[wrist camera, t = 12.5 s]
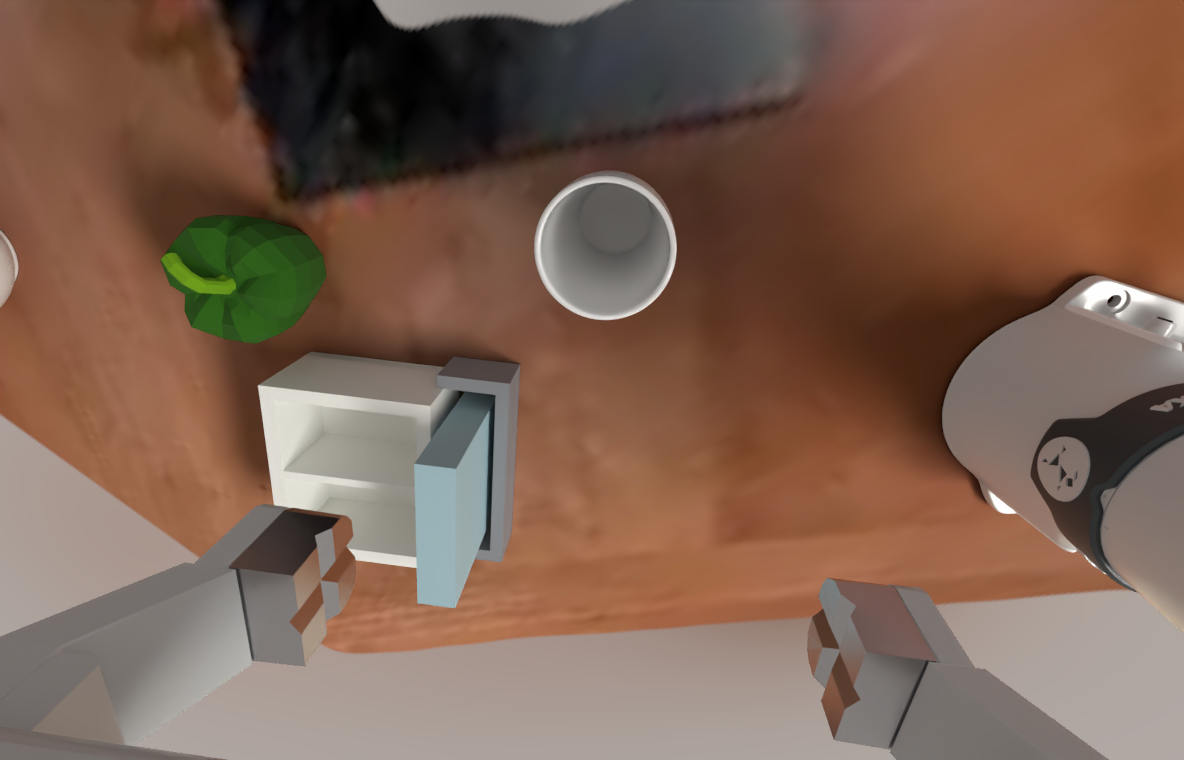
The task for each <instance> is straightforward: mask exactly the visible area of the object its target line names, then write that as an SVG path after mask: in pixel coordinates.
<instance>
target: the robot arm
mask: <svg viewBox="0 0 1184 760" xmlns="http://www.w3.org/2000/svg"><path fill="white" fill-rule="evenodd" d="M1111 296H1113V300H1112V301H1111V302H1110V303H1108V304H1107V301H1108V299H1109V298H1110V297H1111ZM942 425H943V432H944V436H945V439H946V442H947V444H948V446H949V448H950V450H951V452H952V453H953V455H954V456H955V457H956V459H957V460H958V461H959V462H960V463H961V464H962V465H963V466H964V467H965V468H967V469H968V470H969V471H970V472H971V473H972V474H973V475H974V476H975V477H976V478H977V479H978V481H979V483H980V487H981V490H982V493H983V495H984V498H985V499H986V501H987V503H988V504H989V505H990V506H992V507H993V508H994V509H995V510H997V511H998V512H1000V513H1004V514H1019V515H1020V516H1021V517H1022V518H1023V519H1025V520H1026V521H1027V522H1028V523H1030V524H1031V525H1032V526H1034V527H1035V528H1036V529H1037V530H1039V531H1040V532H1041V533H1042V534H1044V535H1045V536H1046V537H1047V538H1049V539H1050V540H1051V541H1053V542H1054V543H1055V544H1056V545H1058V546H1059V547H1061V548H1062V549H1064V550H1066V551H1069V552H1076V551H1078V552H1079V553H1080V554H1081V555H1082V556H1083V557H1084V558H1085V559H1086V560H1087V561H1088V562H1090V563H1091V564H1092V565H1093V566H1094V567H1095V568H1098V569H1099V570H1100V571H1101V572H1103V573H1104V574H1106V575H1108V576H1109V577H1110V578H1111V579H1113V580H1114V581H1115V582H1117V583H1118V584H1120V585H1122V586H1123V587H1125V588H1127V589H1129V590H1132V591H1134V592H1137V593H1139V594H1140V595H1141V596H1142V597H1144V598H1145V599H1146V600H1147V601H1148V602H1149V603H1150V604H1151V605H1152V606H1154V607H1155V608H1156V609H1157V610H1158V611H1159V612H1160V613H1161V614H1163V615H1164V616H1165V617H1166V618H1167V619H1168V620H1169V621H1170V622H1171V623H1172V624H1174V625H1175V626H1176V627H1177V628H1178V629H1179V630H1180V631H1181V632H1183V633H1184V302H1181V301H1178V300H1175V299H1171V298H1168V297H1165V296H1162V295H1159V294H1156V293H1153V292H1150V291H1147V290H1144V289H1141V288H1138V287H1135V286H1131V285H1128V284H1125V283H1122V282H1119V281H1116V280H1113V279H1110V278H1107V277H1104V276H1096V275H1095V276H1090V277H1087V278H1085V279H1083V280H1081V281H1079V282H1078V283H1076V284H1075V285H1074V286H1072V287H1071V288H1070V289H1068V290H1067V291H1066V292H1065V293H1064V294H1062V295H1061V296H1060V297H1059V298H1058V299H1057V300H1056V301H1054V302H1053V303H1052V304H1051V305H1049V306H1047V307H1045V308H1044V309H1041V310H1039V311H1037V312H1035V313H1032V314H1030V315H1027V316H1025V317H1023V318H1020V319H1018V320H1016V321H1014V322H1012V323H1010V324H1008V325H1006V326H1004V327H1003V328H1001V329H1000V330H998V331H996V332H995V333H993V334H992V335H991V336H989V337H988V338H987V339H985V340H984V341H983V342H982V343H981V344H980V345H979V346H977V347H976V348H975V349H974V350H973V351H972V352H971V353H970V355H969V356H968V357H967V358H966V359H965V360H964V362H963V363H962V364H961V366H960V367H959V369H958V370H957V372H956V373H955V375H954V377H953V379H952V381H951V383H950V385H949V387H948V390H947V393H946V396H945V400H944V404H943V411H942ZM352 537H353V528H352V520H351V519H350V518H348V517H347V516H345V515H338V514H332V513H325V512H319V511H312V510H305V509H299V508H289V507H283V506H276V505H269V504H262V505H259V506H256V507H254V508H253V509H252V510H251V511H250V512H249V513H248V514H247V515H246V516H245V517H244V518H243V519H241V520H240V521H239V522H238V523H237V524H236V525H235V526H234V527H233V528H232V529H231V530H230V531H229V532H227V533H226V534H225V535H224V536H223V537H222V538H221V539H220V540H219V541H218V542H217V543H216V544H215V545H213V546H212V547H211V548H210V549H209V550H208V551H207V552H206V553H205V554H204V555H203V556H202V557H201V558H199V559H198V560H197V561H196V562H195V563H194V564H191V563H183V564H180V565H178V566H175V567H173V568H170V569H168V570H165V571H163V572H160V573H158V574H155V575H153V576H150V577H148V578H145V579H143V580H140V581H138V582H135V583H133V584H130V585H128V586H125V587H123V588H120V589H118V590H115V591H113V592H110V593H108V594H105V595H103V596H100V597H98V598H96V599H93V600H90V601H88V602H85V603H83V604H80V605H78V606H76V607H73V608H71V609H68V610H66V611H63V612H61V613H58V614H55V615H53V616H51V617H48V618H46V619H43V620H41V621H38V622H36V623H33V624H31V625H28V626H26V627H23V628H21V629H18V630H16V631H13V632H11V633H8V634H6V635H3V636H1V637H0V760H225V759H218V758H211V757H205V756H198V755H191V754H184V753H177V752H170V751H164V750H157V749H150V748H142V747H136V746H134V745H135V744H137V743H138V742H139V741H141V740H142V739H144V738H145V737H147V736H148V735H150V734H151V733H153V732H154V731H155V730H157V729H158V728H160V727H161V726H163V725H164V724H166V723H167V722H168V721H170V720H171V719H173V718H174V717H176V716H177V715H179V714H180V713H181V712H183V711H184V710H186V709H187V708H189V707H190V706H192V705H193V704H194V703H196V702H198V701H199V700H200V699H202V698H203V697H205V696H206V695H208V694H209V693H210V692H212V691H213V690H215V689H216V688H218V687H219V686H221V685H222V684H224V683H225V682H226V681H228V680H229V679H231V678H232V677H234V676H235V675H237V674H238V673H239V672H241V671H242V670H244V669H245V668H247V667H248V666H250V665H251V664H252V661H260V662H270V663H279V664H288V665H298V666H306V664H307V663H308V662H309V660H310V659H311V657H312V655H313V654H314V652H315V651H316V649H317V648H318V646H319V645H320V643H321V642H322V640H323V639H324V637H325V636H326V634H327V630H326V621H327V620H328V619H330V618H332V617H334V616H335V615H337V614H339V613H340V612H341V611H342V609H343V607H344V606H345V604H346V602H347V601H348V599H349V596H350V593H351V591H352V588H353V585H354V581H355V573H356V561H355V556H354V555H353V554H352V552H351V551H350V550H349V549H348V548H347V544H348V543H349V542H350V540H351V539H352ZM819 599H820V602H821V604H822V607H823V609H822V610H821V611H820V612H818V613H817V614H816V615H814V616H813V617H812V619H811V623H810V627H809V631H808V644H807V651H808V658H809V664H810V667H811V670H812V674H813V677H814V678H815V679H816V680H817V681H818V682H819V683H820V684H821V685H822V686H823V687H824V688H825V691H824V694H823V697H822V700H821V702H822V705H823V708H824V711H825V714H826V717H827V720H828V723H829V726H830V730H831V732H832V736H833V739H834V740H837V741H842V742H848V743H855V744H860V745H866V746H872V747H878V748H884V749H890V750H891V752H890V753H891V754H892V755H893V756H894V758H895V759H896V760H1108V759H1107V758H1105V757H1104V756H1103V755H1101V754H1100V753H1099V752H1097V751H1096V750H1095V749H1093V748H1092V747H1091V746H1089V745H1088V744H1087V743H1085V742H1084V741H1082V740H1081V739H1080V738H1078V737H1077V736H1075V735H1074V734H1073V733H1072V732H1070V731H1069V730H1068V729H1066V728H1065V727H1063V726H1062V725H1061V724H1059V723H1058V722H1056V721H1055V720H1054V719H1052V718H1051V717H1050V716H1048V715H1047V714H1046V713H1044V712H1043V711H1042V710H1040V709H1039V708H1037V707H1036V706H1035V705H1033V704H1032V703H1031V702H1029V701H1028V700H1026V699H1025V698H1024V697H1022V696H1021V695H1020V694H1018V693H1017V692H1016V691H1014V690H1013V689H1012V688H1010V687H1009V686H1007V685H1006V684H1005V683H1003V682H1002V681H1000V680H999V679H998V678H997V677H995V676H994V675H992V674H991V673H990V672H988V671H987V670H985V669H979V668H975V667H974V665H973V664H972V662H971V661H970V659H969V658H968V656H967V654H966V653H965V651H964V650H963V648H962V646H961V645H960V643H959V642H958V640H957V639H956V637H955V636H954V634H953V632H952V631H951V629H950V628H949V626H948V625H947V623H946V621H945V620H944V619H943V617H942V615H941V614H940V612H939V611H938V609H937V607H936V606H935V604H934V603H933V601H932V600H931V598H930V597H929V595H928V593H927V592H925V591H924V590H923V589H921V588H918V587H909V586H899V585H882V584H874V583H865V582H857V581H849V580H841V579H833V578H827V579H826V580H825V582H824V583H823V584H822V587H821V590H820V593H819Z"/></svg>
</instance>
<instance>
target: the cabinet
mask: <svg viewBox="0 0 1184 760" xmlns="http://www.w3.org/2000/svg"><path fill="white" fill-rule="evenodd" d="M519 381H520V364H514V363H505V362H497V361H488V360H480V359H471V358H463V357H454V356H453V358H452V359H451V360H450V361H449V362H448V363H447V364H446V366H445V367H439V366H430V365H422V364H413V363H405V362H396V361H388V360H380V359H371V358H363V357H354V356H346V355H337V354H329V353H320V352H312V351H311V352H310V353H308V354H306V355H305V356H303V357H302V358H300V359H299V360H297V361H295V362H294V363H292V364H291V365H289V366H288V367H286V368H284V369H283V370H281V371H280V372H278V373H276V374H275V375H273V376H272V377H270V378H269V379H267V380H265V381H264V382H262V383H261V384H259V385H258V389H259V397H260V404H261V411H262V419H263V426H264V433H265V441H266V448H267V455H268V463H269V470H270V478H271V485H272V492H273V500H274V505H276V506H283V507H289V508H299V509H305V510H312V511H319V512H325V513H332V514H338V515H345V516H347V517H348V518H350V519H351V520H352V528H353V537H352V539H351V540H350V542H349V543H348V544H347V548H348V549H349V550H350V551H351V552H352V554H353V555H354V556H355V560H360V561H368V562H375V563H383V564H391V565H398V566H406V567H414V568H417V558H416V518H415V478H414V463H415V462H416V460H417V459H418V458H419V456H420V455H421V453H422V452H423V451H424V449H425V448H426V446H427V445H428V443H429V442H430V441H431V439H432V438H433V436H434V435H435V433H436V432H437V431H438V429H439V428H440V426H441V425H442V424H443V422H444V421H445V419H446V418H447V416H448V415H449V414H450V412H451V411H452V409H453V408H454V406H455V405H456V404H457V402H458V401H459V391H467V392H475V393H484V394H492V395H496V397H495V425H494V454H493V482H492V511H491V520H490V522H489V524H488V527H487V529H486V532H485V534H484V537H483V539H482V542H481V544H480V547H479V549H478V552H477V554H476V557H475V559H480V560H488V561H495V562H502V560H503V557H504V554H505V551H506V548H507V545H508V542H509V539H510V536H511V533H512V516H513V497H514V477H515V458H516V439H517V420H518V400H519Z"/></svg>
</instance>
